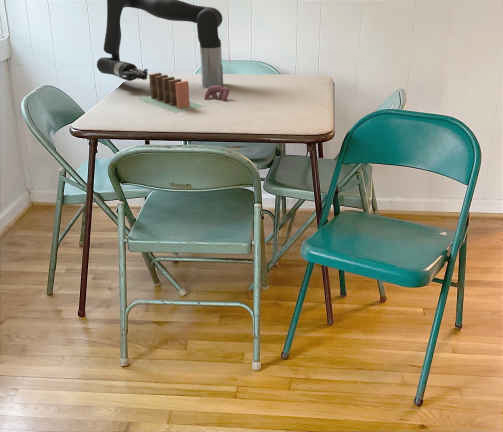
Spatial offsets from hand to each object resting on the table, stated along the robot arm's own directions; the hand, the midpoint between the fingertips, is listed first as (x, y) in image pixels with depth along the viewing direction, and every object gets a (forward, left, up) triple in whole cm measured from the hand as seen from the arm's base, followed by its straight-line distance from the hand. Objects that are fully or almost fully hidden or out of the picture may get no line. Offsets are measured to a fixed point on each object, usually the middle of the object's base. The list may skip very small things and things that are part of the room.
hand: (145, 77), depth 270 cm
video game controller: (-29, +15, -8) cm, 34 cm away
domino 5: (-14, +25, -7) cm, 30 cm away
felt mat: (-9, +16, -8) cm, 20 cm away
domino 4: (-12, +21, -7) cm, 25 cm away
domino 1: (-4, +8, -7) cm, 11 cm away
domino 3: (-9, +16, -7) cm, 20 cm away
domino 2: (-7, +12, -7) cm, 15 cm away
